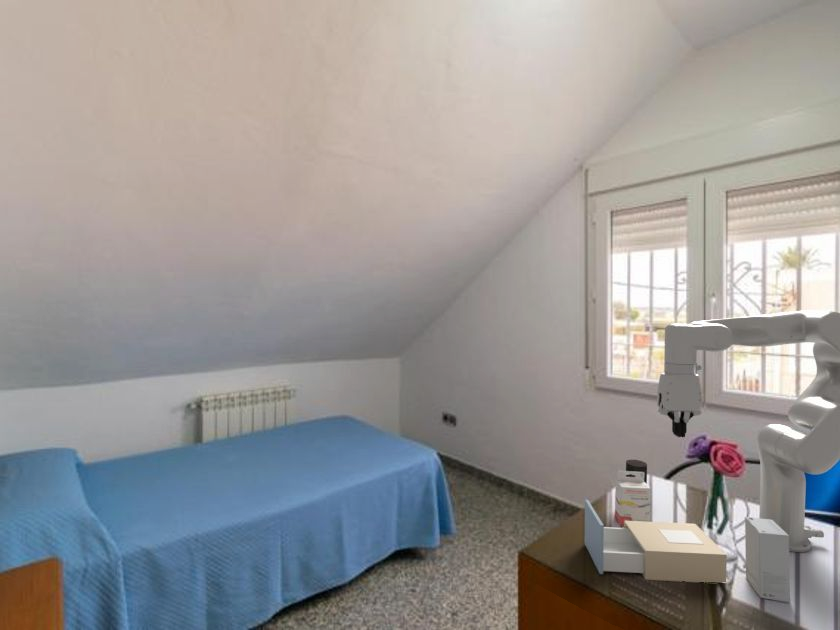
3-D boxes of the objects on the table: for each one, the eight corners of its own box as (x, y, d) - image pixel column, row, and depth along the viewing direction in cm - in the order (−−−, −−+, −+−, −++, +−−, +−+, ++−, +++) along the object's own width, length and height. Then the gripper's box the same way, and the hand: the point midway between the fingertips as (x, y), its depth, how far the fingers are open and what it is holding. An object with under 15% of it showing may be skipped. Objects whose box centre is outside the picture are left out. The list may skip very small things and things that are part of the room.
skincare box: (790, 604, 95) (792, 537, 95) (758, 598, 97) (759, 532, 96) (772, 580, 103) (774, 518, 103) (742, 575, 105) (744, 514, 104)
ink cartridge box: (620, 526, 128) (620, 476, 127) (614, 517, 133) (615, 470, 132) (650, 527, 127) (651, 477, 126) (643, 519, 132) (644, 471, 131)
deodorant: (650, 514, 134) (650, 466, 134) (630, 514, 134) (631, 466, 134) (640, 505, 140) (641, 459, 140) (621, 505, 140) (622, 459, 140)
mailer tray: (652, 546, 116) (653, 502, 116) (676, 578, 103) (677, 528, 103) (584, 543, 118) (584, 499, 118) (599, 573, 105) (600, 525, 105)
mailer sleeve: (694, 549, 116) (694, 523, 115) (726, 583, 102) (726, 554, 102) (623, 546, 118) (624, 520, 117) (645, 579, 104) (645, 550, 103)
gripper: (701, 367, 122) (700, 432, 123) (645, 367, 123) (645, 431, 124) (717, 371, 115) (716, 440, 115) (657, 371, 116) (656, 439, 117)
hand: (679, 435), depth 120 cm, fingers closed
